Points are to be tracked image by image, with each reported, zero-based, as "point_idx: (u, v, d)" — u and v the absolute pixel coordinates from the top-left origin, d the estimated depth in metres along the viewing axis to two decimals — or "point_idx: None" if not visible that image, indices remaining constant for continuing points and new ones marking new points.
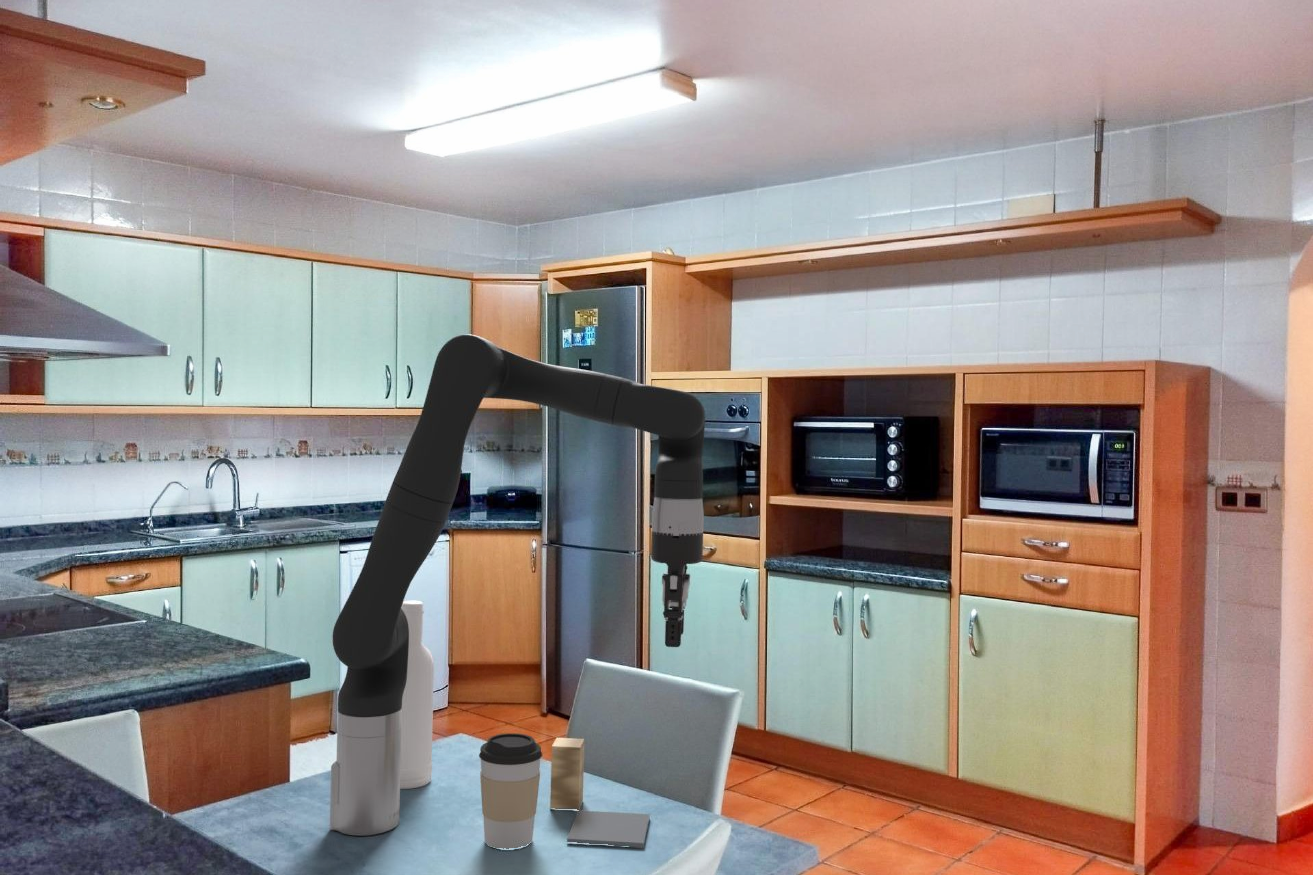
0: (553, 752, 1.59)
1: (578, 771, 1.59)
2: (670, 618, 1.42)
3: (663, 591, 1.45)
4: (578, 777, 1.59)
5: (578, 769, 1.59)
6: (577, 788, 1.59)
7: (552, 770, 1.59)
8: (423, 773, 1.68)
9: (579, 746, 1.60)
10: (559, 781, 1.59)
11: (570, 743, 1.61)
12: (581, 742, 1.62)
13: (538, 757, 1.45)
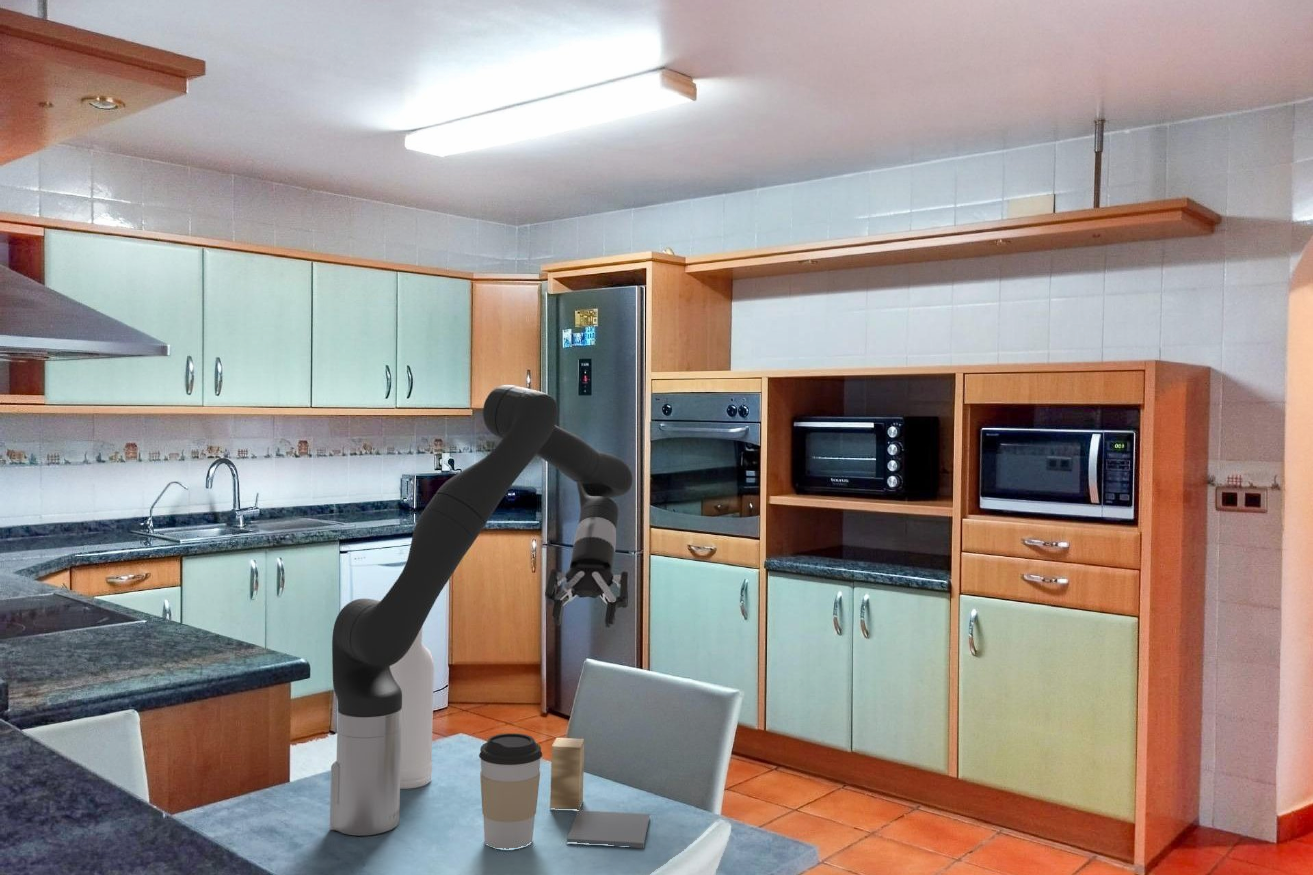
0: (553, 752, 1.59)
1: (578, 771, 1.59)
2: (621, 603, 1.75)
3: (605, 582, 1.76)
4: (578, 777, 1.59)
5: (578, 769, 1.59)
6: (577, 788, 1.59)
7: (552, 770, 1.59)
8: (423, 773, 1.68)
9: (579, 746, 1.60)
10: (559, 782, 1.59)
11: (570, 743, 1.61)
12: (581, 742, 1.62)
13: (538, 757, 1.45)
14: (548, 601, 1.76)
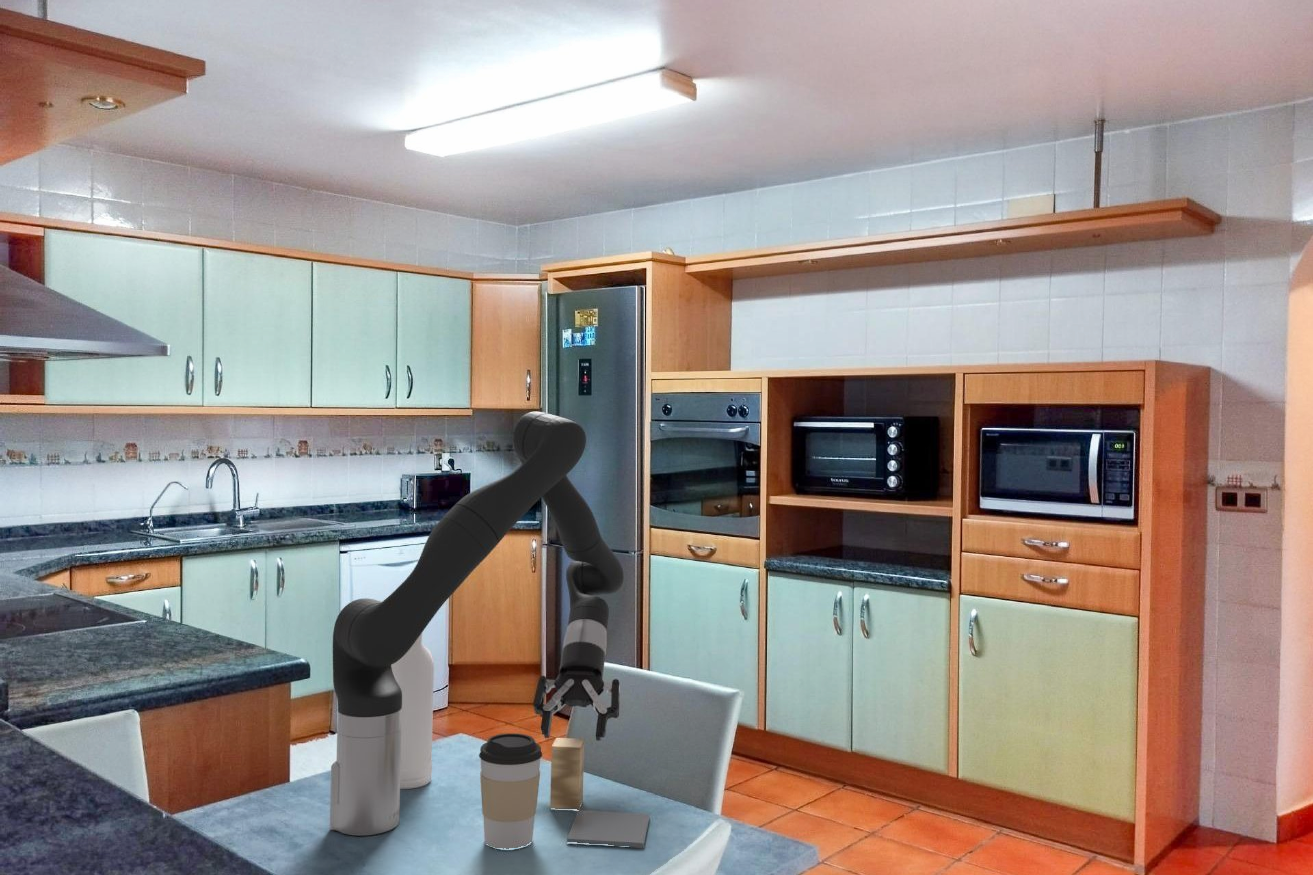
0: (553, 752, 1.59)
1: (578, 771, 1.59)
2: (612, 714, 1.68)
3: (595, 691, 1.70)
4: (578, 777, 1.59)
5: (578, 769, 1.59)
6: (577, 788, 1.59)
7: (552, 770, 1.59)
8: (423, 773, 1.68)
9: (579, 746, 1.60)
10: (559, 782, 1.59)
11: (570, 743, 1.61)
12: (581, 742, 1.61)
13: (538, 757, 1.45)
14: (536, 711, 1.70)
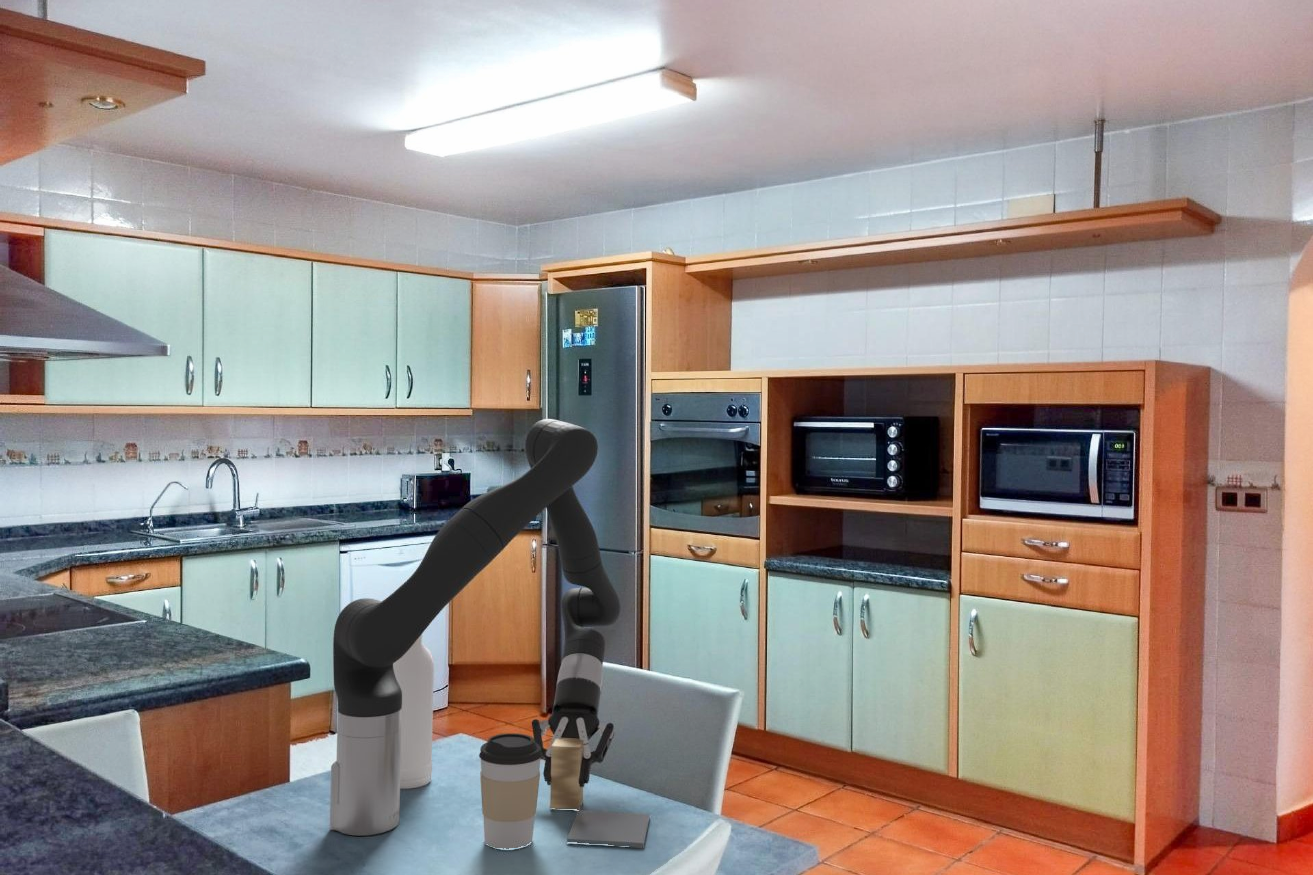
0: (553, 752, 1.59)
1: (578, 771, 1.59)
2: (596, 758, 1.62)
3: (586, 733, 1.64)
4: (578, 777, 1.59)
5: (578, 769, 1.59)
6: (577, 788, 1.59)
7: (552, 770, 1.59)
8: (423, 773, 1.68)
9: (579, 745, 1.60)
10: (559, 781, 1.59)
11: (570, 742, 1.61)
12: (581, 742, 1.62)
13: (538, 757, 1.45)
14: None
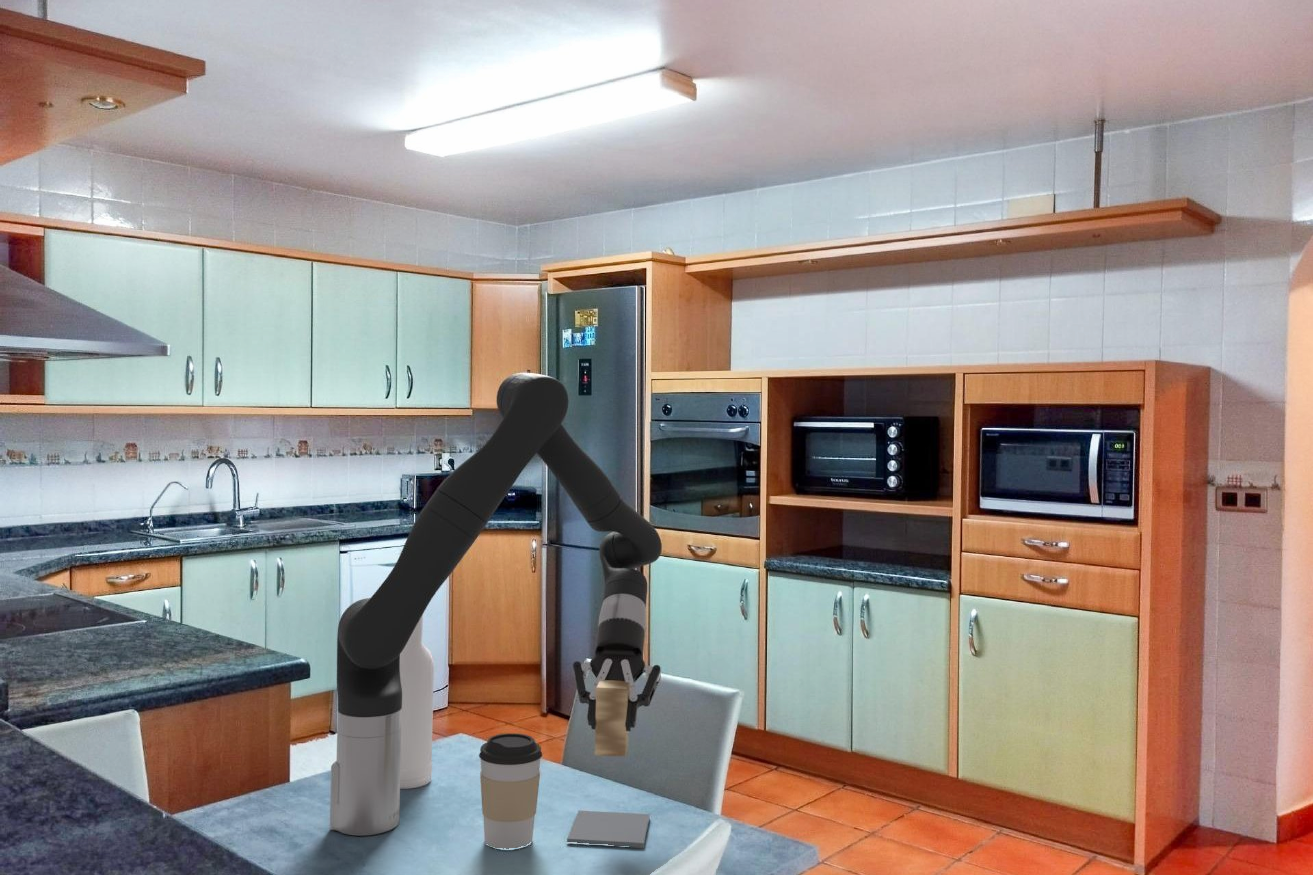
0: (598, 694, 1.49)
1: (624, 714, 1.49)
2: (643, 701, 1.52)
3: (632, 675, 1.54)
4: (624, 720, 1.49)
5: (624, 712, 1.49)
6: (623, 732, 1.49)
7: (596, 713, 1.49)
8: (423, 773, 1.68)
9: (625, 687, 1.50)
10: (605, 725, 1.49)
11: (615, 684, 1.51)
12: (627, 684, 1.52)
13: (538, 757, 1.45)
14: (581, 700, 1.53)
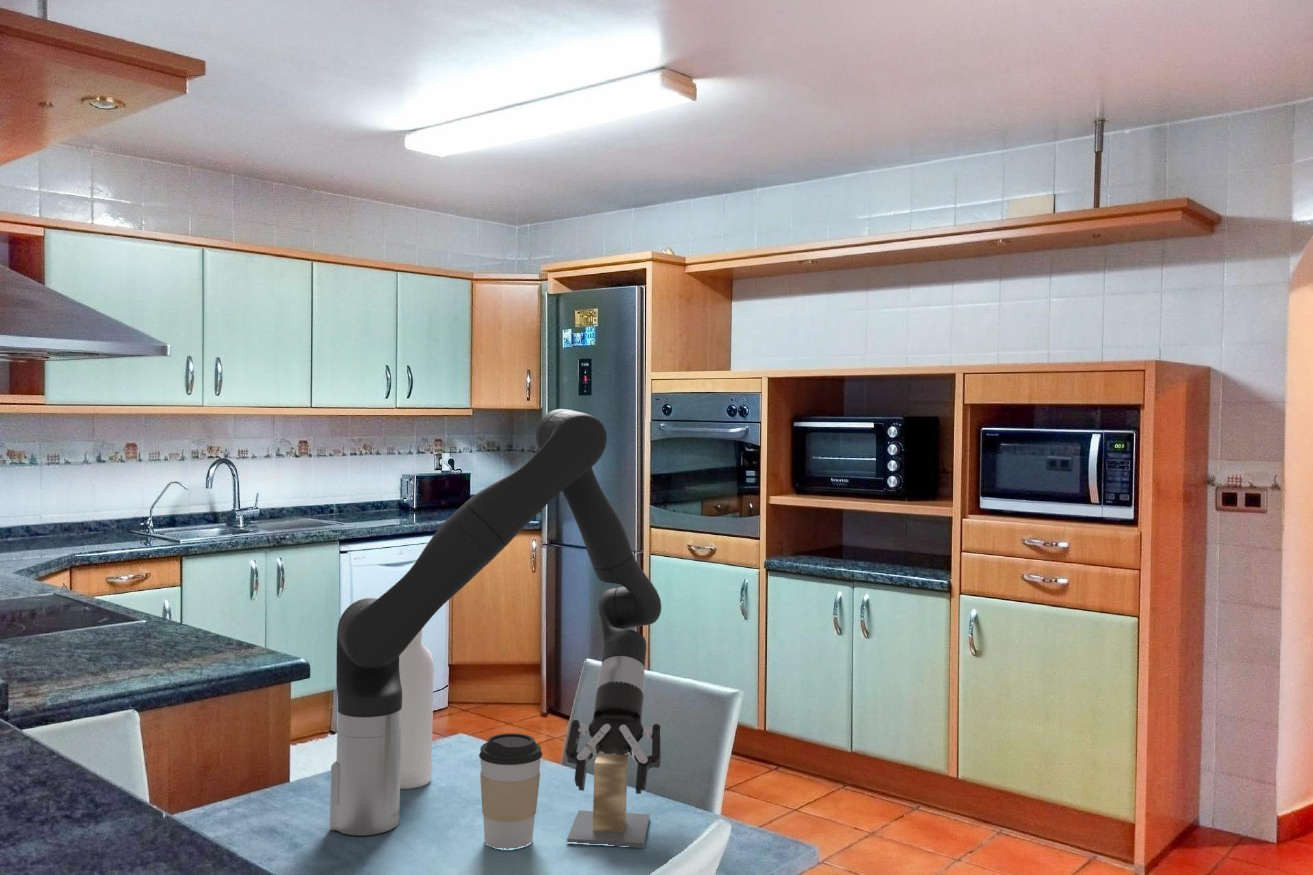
0: (596, 769, 1.49)
1: (623, 789, 1.49)
2: (653, 763, 1.52)
3: (634, 738, 1.54)
4: (623, 796, 1.49)
5: (623, 787, 1.49)
6: (622, 807, 1.49)
7: (595, 788, 1.49)
8: (423, 773, 1.68)
9: (623, 762, 1.50)
10: (603, 801, 1.49)
11: (613, 759, 1.51)
12: (625, 758, 1.52)
13: (538, 757, 1.45)
14: (569, 760, 1.54)
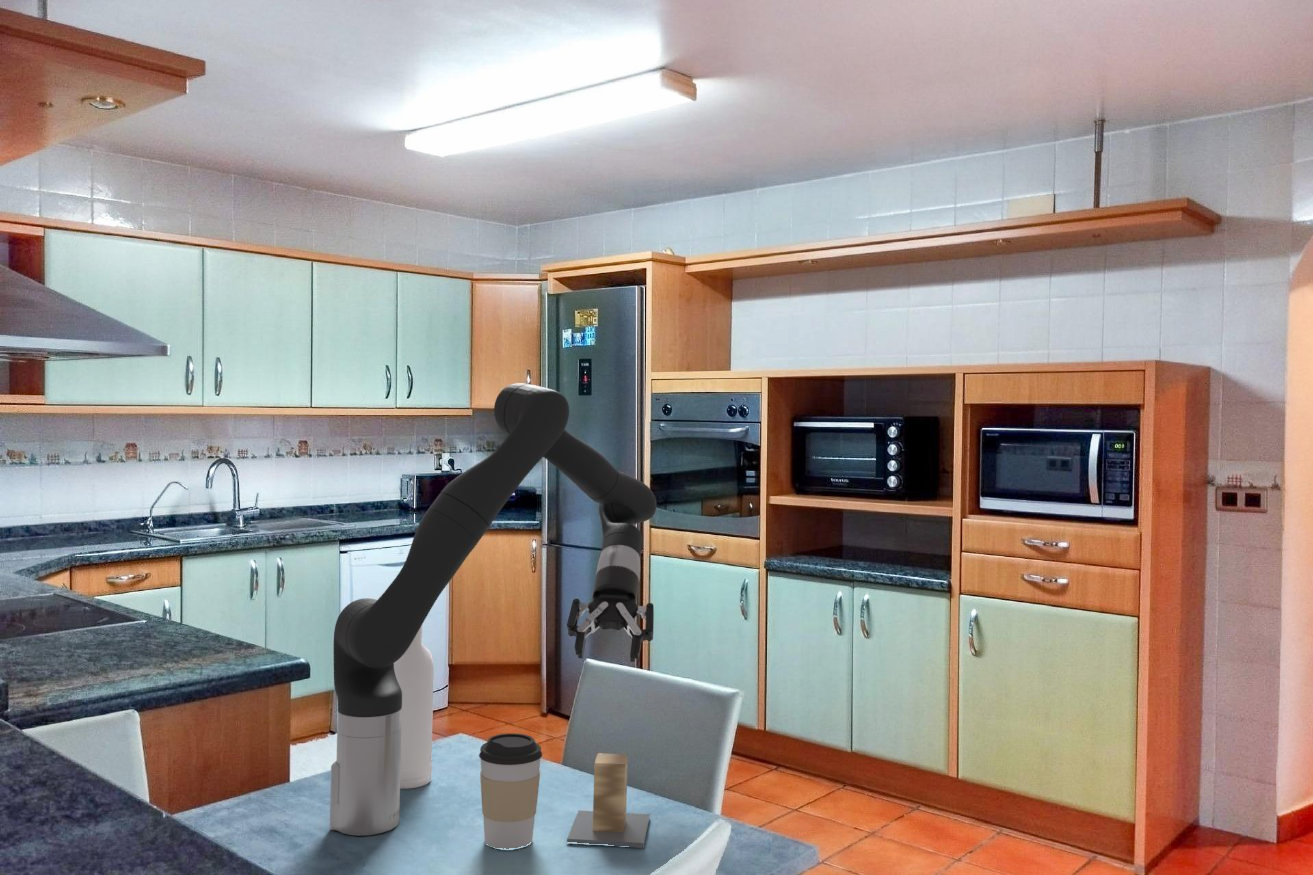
0: (596, 769, 1.49)
1: (623, 789, 1.49)
2: (646, 636, 1.67)
3: (629, 614, 1.69)
4: (623, 796, 1.49)
5: (623, 787, 1.49)
6: (622, 807, 1.49)
7: (595, 788, 1.49)
8: (423, 773, 1.68)
9: (623, 762, 1.50)
10: (603, 801, 1.49)
11: (613, 759, 1.51)
12: (625, 758, 1.52)
13: (538, 757, 1.45)
14: (570, 633, 1.69)
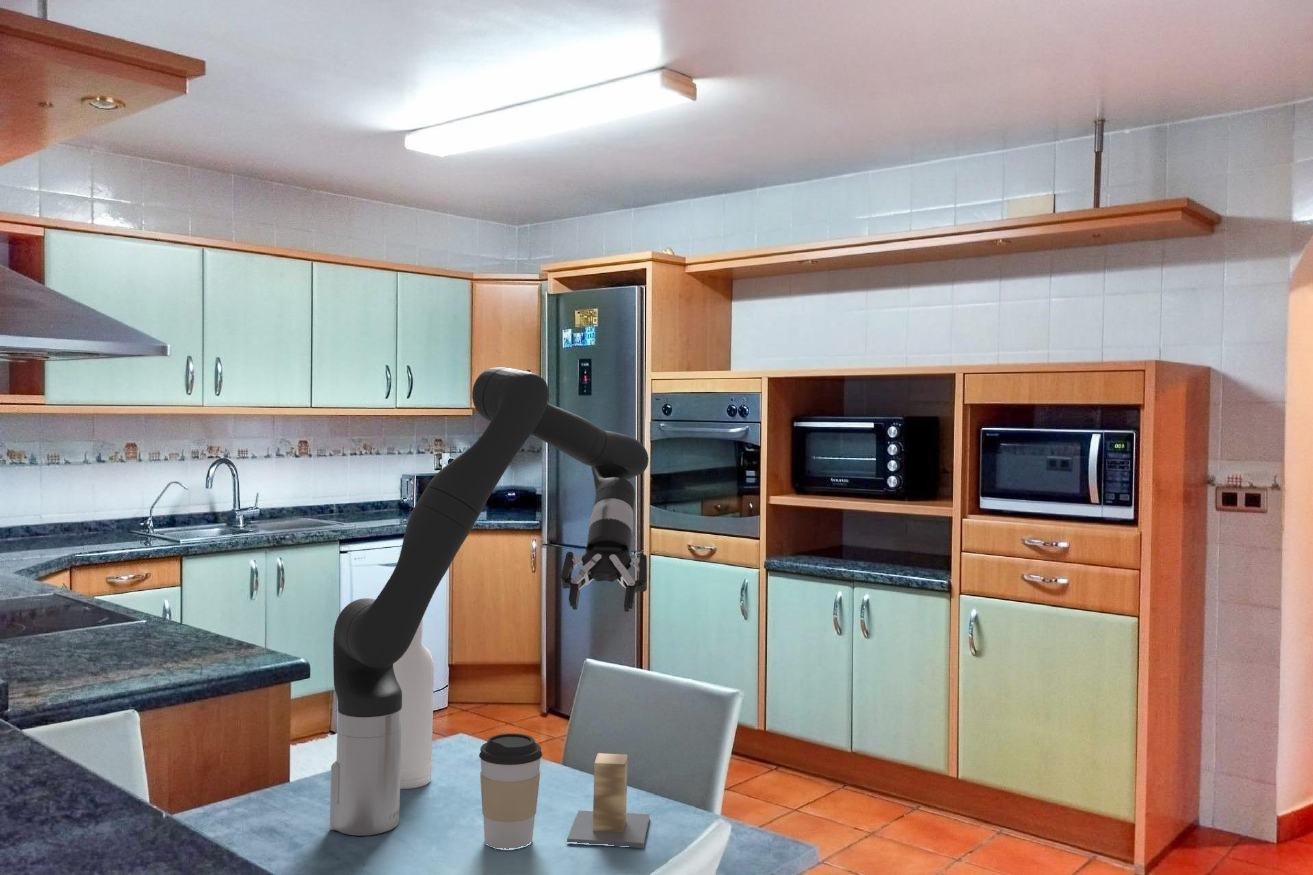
0: (596, 769, 1.49)
1: (623, 789, 1.49)
2: (640, 586, 1.68)
3: (623, 565, 1.69)
4: (623, 796, 1.49)
5: (623, 787, 1.49)
6: (622, 807, 1.49)
7: (595, 788, 1.49)
8: (423, 773, 1.68)
9: (623, 762, 1.50)
10: (603, 801, 1.49)
11: (613, 759, 1.51)
12: (625, 758, 1.52)
13: (538, 757, 1.45)
14: (564, 585, 1.69)
